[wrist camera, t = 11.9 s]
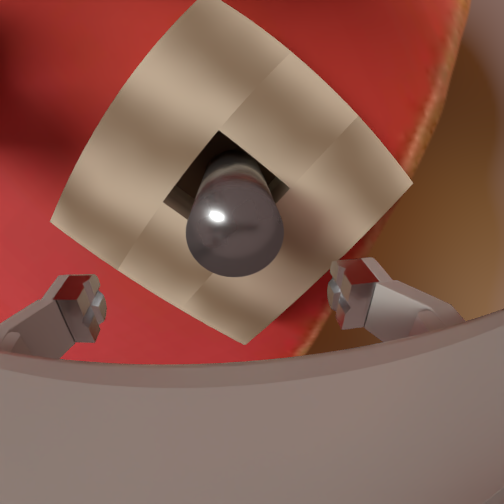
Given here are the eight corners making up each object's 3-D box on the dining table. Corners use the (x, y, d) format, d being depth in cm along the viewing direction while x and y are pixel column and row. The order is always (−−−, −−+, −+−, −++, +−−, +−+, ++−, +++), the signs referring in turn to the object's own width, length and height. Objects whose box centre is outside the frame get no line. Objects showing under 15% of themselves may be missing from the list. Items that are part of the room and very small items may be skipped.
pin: (238, 212, 22) (245, 291, 13) (194, 183, 21) (167, 246, 12) (272, 170, 21) (303, 225, 12) (226, 138, 19) (222, 167, 11)
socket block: (242, 307, 28) (244, 345, 24) (78, 198, 21) (50, 221, 17) (381, 165, 22) (413, 183, 18) (211, 14, 16) (206, -9, 11)
